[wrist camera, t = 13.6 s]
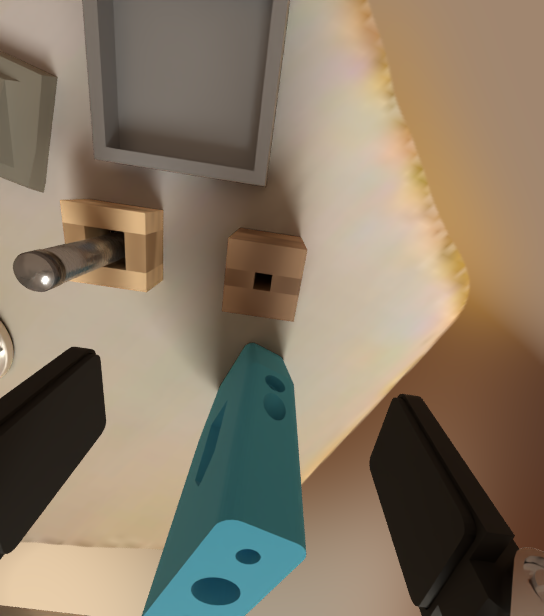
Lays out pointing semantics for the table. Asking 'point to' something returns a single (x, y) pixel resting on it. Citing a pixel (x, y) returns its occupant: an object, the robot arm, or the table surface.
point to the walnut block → (263, 274)
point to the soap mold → (25, 121)
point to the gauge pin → (67, 261)
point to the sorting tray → (186, 84)
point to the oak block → (138, 241)
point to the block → (237, 499)
